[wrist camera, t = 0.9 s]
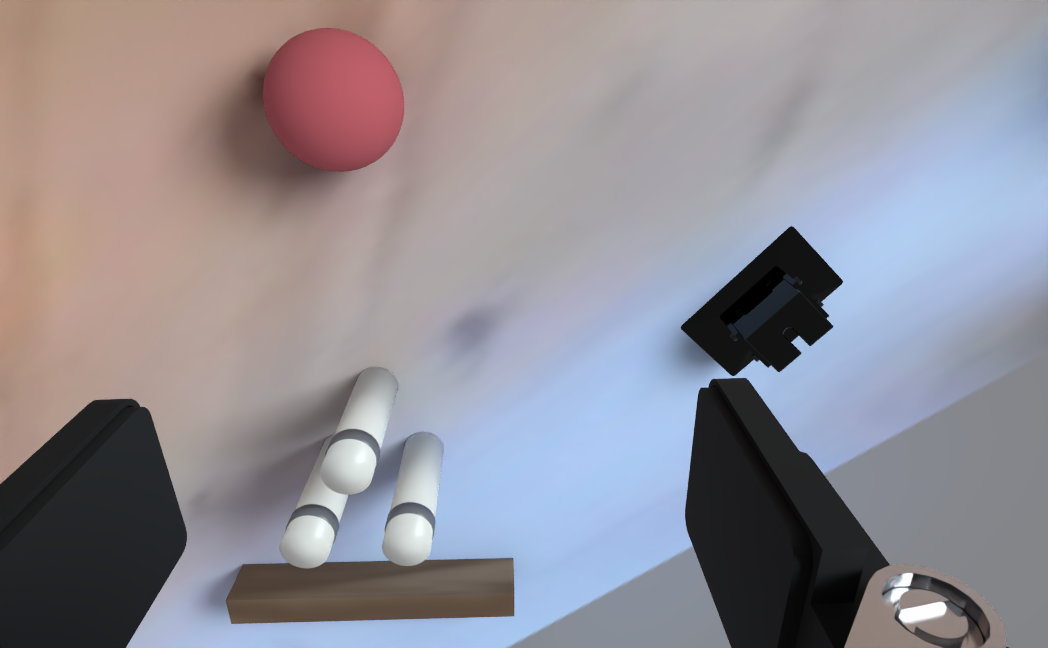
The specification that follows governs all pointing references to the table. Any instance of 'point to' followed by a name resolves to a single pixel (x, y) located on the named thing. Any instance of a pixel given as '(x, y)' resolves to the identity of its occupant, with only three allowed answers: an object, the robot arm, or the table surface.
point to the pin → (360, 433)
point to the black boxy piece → (767, 307)
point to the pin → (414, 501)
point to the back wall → (372, 591)
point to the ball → (333, 99)
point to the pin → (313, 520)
